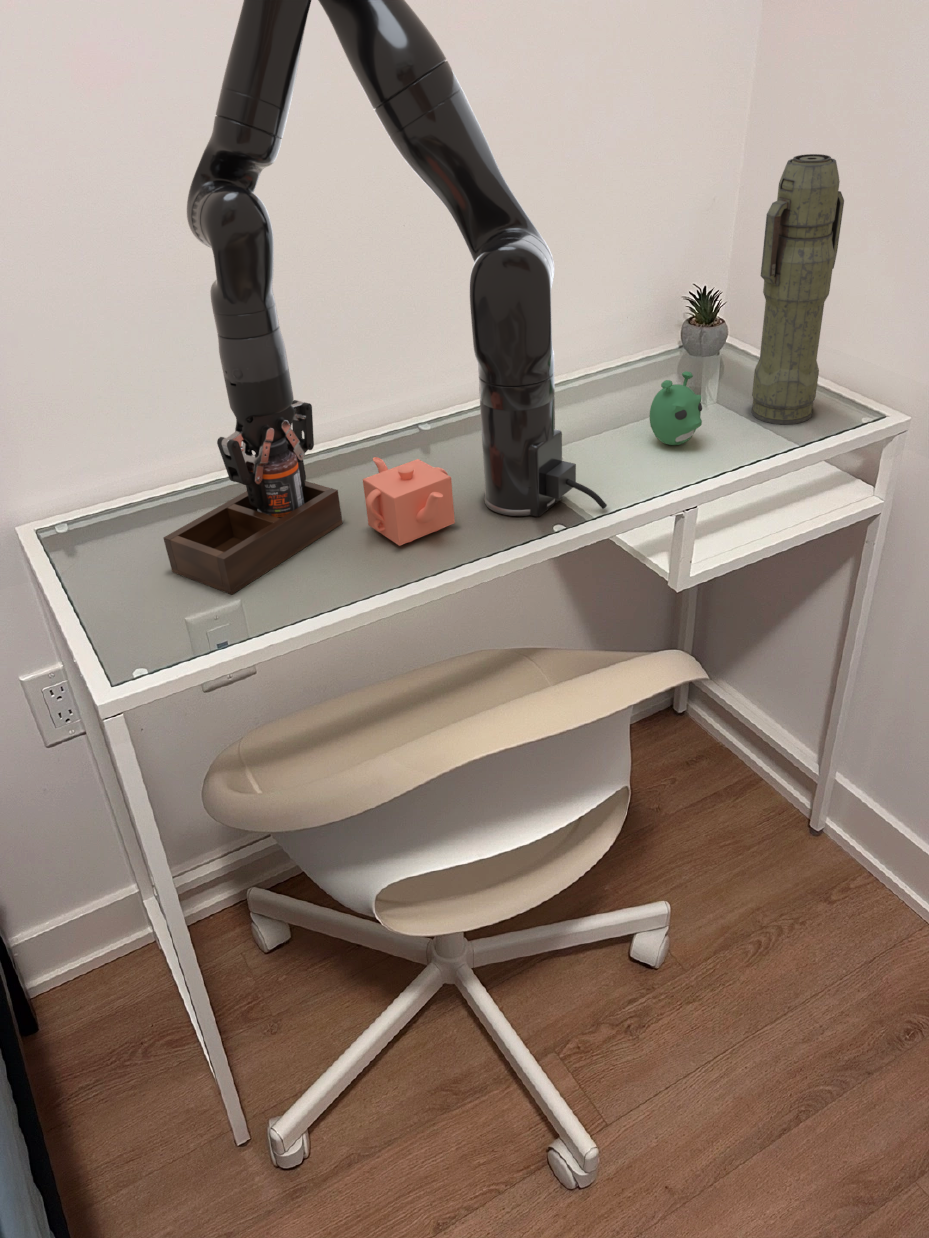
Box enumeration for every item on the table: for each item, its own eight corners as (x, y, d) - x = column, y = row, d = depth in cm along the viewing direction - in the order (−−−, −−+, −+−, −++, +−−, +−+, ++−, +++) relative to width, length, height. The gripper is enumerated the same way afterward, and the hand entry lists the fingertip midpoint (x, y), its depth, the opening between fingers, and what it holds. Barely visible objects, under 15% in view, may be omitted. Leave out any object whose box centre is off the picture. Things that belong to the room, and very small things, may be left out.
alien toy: (679, 459, 138) (683, 390, 133) (638, 443, 144) (640, 376, 138) (712, 444, 142) (718, 376, 136) (671, 429, 147) (675, 362, 141)
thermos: (730, 414, 150) (753, 161, 130) (786, 394, 155) (815, 147, 135) (776, 432, 144) (807, 169, 124) (832, 411, 149) (870, 154, 129)
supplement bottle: (258, 535, 125) (241, 452, 119) (262, 513, 130) (246, 432, 124) (306, 531, 126) (291, 447, 119) (308, 509, 131) (294, 427, 124)
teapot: (405, 567, 119) (398, 505, 114) (341, 523, 129) (332, 463, 125) (485, 534, 125) (481, 472, 120) (417, 494, 135) (411, 436, 130)
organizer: (342, 523, 129) (337, 489, 127) (231, 595, 116) (223, 559, 114) (284, 505, 135) (278, 472, 132) (172, 572, 122) (162, 537, 119)
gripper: (276, 344, 123) (297, 469, 133) (186, 383, 114) (216, 514, 123) (321, 353, 119) (339, 481, 129) (232, 394, 110) (259, 529, 119)
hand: (279, 496), depth 126 cm, fingers closed on supplement bottle, 6 cm apart
